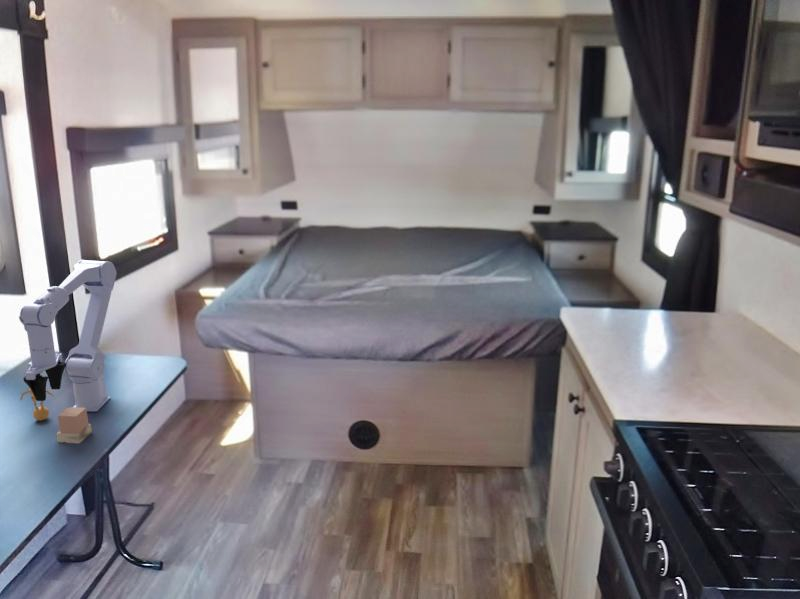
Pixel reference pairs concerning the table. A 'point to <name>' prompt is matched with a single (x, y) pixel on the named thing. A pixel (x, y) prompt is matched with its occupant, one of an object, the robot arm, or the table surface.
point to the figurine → (39, 412)
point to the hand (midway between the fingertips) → (48, 394)
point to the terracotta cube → (73, 420)
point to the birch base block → (74, 435)
